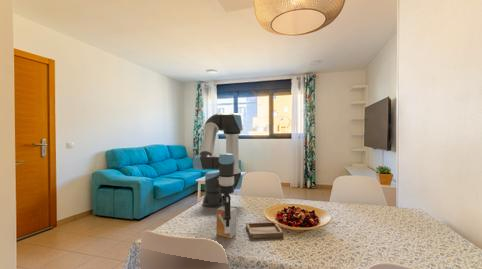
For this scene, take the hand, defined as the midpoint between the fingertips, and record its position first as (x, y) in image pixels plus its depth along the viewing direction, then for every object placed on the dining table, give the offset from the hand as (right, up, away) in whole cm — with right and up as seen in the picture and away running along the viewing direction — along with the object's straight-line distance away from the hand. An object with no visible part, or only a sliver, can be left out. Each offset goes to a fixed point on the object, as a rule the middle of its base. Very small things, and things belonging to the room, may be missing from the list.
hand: (226, 227), depth 115 cm
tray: (+19, -4, +3) cm, 19 cm away
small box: (0, -4, 0) cm, 4 cm away
